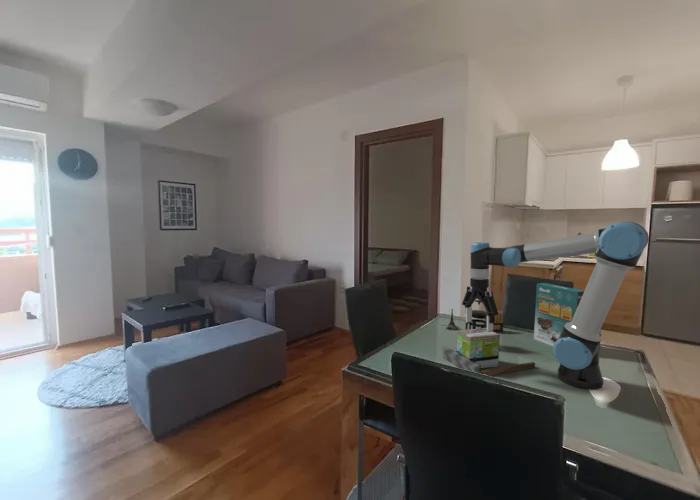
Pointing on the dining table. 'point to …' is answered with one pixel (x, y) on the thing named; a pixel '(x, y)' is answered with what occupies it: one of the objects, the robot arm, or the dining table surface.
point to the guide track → (469, 365)
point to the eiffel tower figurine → (452, 324)
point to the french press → (478, 315)
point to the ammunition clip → (497, 322)
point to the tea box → (479, 346)
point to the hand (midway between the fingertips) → (478, 326)
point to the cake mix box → (554, 310)
